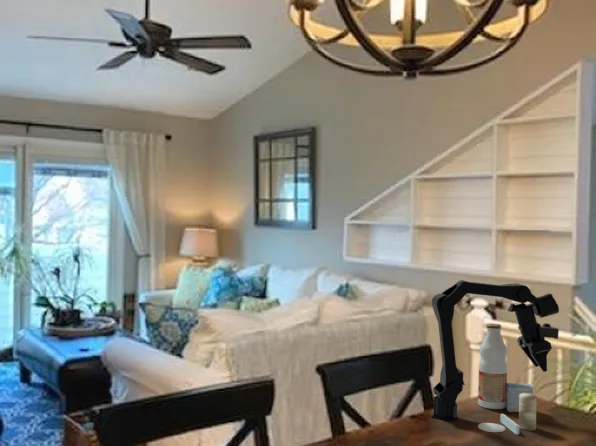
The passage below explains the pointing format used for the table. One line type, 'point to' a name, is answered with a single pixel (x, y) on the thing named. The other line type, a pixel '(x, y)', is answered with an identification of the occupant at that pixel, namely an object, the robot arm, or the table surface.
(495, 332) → the fruit juice
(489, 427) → the pad
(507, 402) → the medicine box
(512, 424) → the acrylic wall
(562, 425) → the table surface
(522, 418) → the birch cylinder
